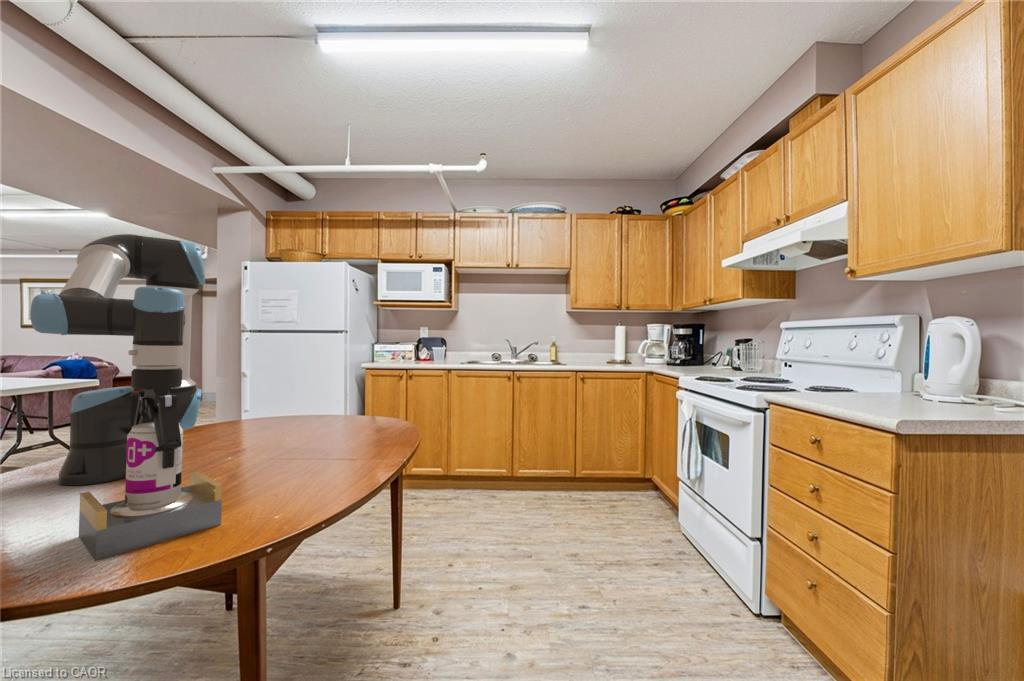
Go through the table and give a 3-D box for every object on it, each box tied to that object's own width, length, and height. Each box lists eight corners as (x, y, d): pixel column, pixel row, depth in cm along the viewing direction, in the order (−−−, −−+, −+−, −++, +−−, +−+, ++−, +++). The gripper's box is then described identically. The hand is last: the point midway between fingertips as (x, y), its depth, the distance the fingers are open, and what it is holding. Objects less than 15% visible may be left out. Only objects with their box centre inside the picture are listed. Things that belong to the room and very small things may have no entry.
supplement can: (148, 513, 75) (151, 430, 75) (112, 508, 77) (115, 427, 77) (191, 497, 83) (194, 422, 83) (158, 493, 85) (160, 419, 85)
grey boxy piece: (78, 536, 77) (80, 493, 77) (195, 507, 91) (196, 470, 91) (95, 561, 69) (96, 512, 69) (220, 524, 83) (222, 484, 83)
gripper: (115, 364, 85) (112, 468, 84) (152, 372, 70) (148, 498, 70) (162, 363, 91) (159, 460, 91) (205, 370, 76) (201, 486, 76)
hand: (154, 477), depth 80 cm, fingers open, 13 cm apart
